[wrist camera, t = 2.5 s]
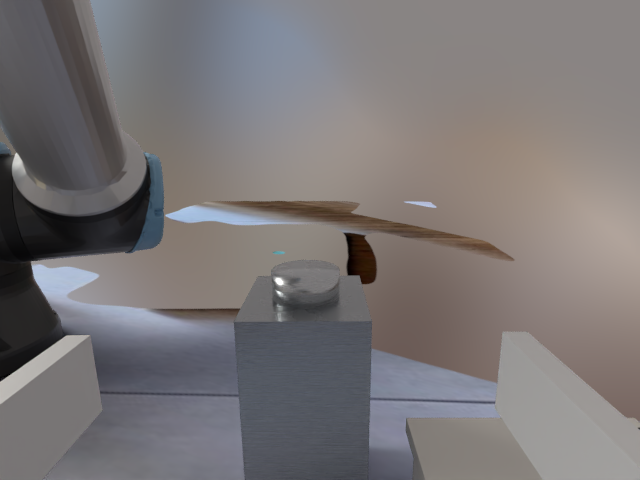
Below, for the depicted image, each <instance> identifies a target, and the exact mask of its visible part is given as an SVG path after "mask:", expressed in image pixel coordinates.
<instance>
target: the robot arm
mask: <svg viewBox="0 0 640 480" xmlns="http://www.w3.org/2000/svg"><path fill="white" fill-rule="evenodd" d="M0 127H1V129H2V130H3V132H4V134H5V135H6V137H7V138H8V140H9V141H10V143H11V144H12V146H13V148H14V149H15V151H16V154H15V155H11V151H10V150H9V149H8V148H7V146H6V144H4V143H2V142H0V377H2V376H5V375H8V374H10V373H12V374H11V375H9V376H8V377H6V378H5V379H4V380H2V381H1V382H0V480H43V479H44V477H45V476H46V475H47V474H48V473H49V472H50V470H51V469H52V468H53V467H54V466H55V465H56V464H57V462H58V461H59V460H60V459H61V458H62V457H63V456H64V454H65V453H66V452H67V451H68V450H69V449H70V447H71V446H72V445H73V444H74V443H75V442H76V441H77V439H78V438H79V437H80V436H81V435H82V434H83V433H84V431H85V430H86V429H87V428H88V427H89V426H90V424H91V423H92V422H93V421H94V420H95V419H96V418H97V416H98V415H99V414H100V413H101V412H102V411H103V408H102V402H101V396H100V390H99V384H98V378H97V372H96V366H95V360H94V354H93V348H92V342H91V336H90V335H67V336H65V337H64V338H63V331H62V326H61V320H60V318H59V316H58V314H57V313H56V312H55V311H54V310H52V308H51V306H50V304H49V303H48V301H47V299H46V297H45V296H44V294H43V292H42V291H41V289H40V288H39V286H38V285H37V283H36V281H35V279H34V275H33V271H32V266H31V261H38V260H44V259H45V260H46V259H56V258H67V257H77V256H88V255H99V254H109V253H120V252H125V253H133V252H135V251H138V250H145V249H151V248H154V247H156V246H157V245H158V244H159V243H160V241H161V239H162V236H163V228H164V213H163V209H164V208H163V206H164V191H163V176H162V167H161V162H160V160H159V158H158V157H157V156H156V155H154V154H148V153H146V152H143V151H142V149H141V147H140V146H139V144H138V143H137V142H136V141H135V140H134V139H133V138H132V137H131V136H130V135H128V134H127V133H126V132H124V131H122V127H121V123H120V119H119V115H118V111H117V107H116V103H115V99H114V95H113V91H112V87H111V83H110V79H109V75H108V71H107V68H106V63H105V59H104V55H103V52H102V47H101V43H100V39H99V35H98V31H97V27H96V24H95V20H94V15H93V11H92V7H91V3H90V0H0ZM13 372H14V373H13ZM495 409H496V411H497V412H498V414H499V415H500V417H501V418H502V420H503V421H504V423H505V424H506V426H507V427H508V429H509V430H510V432H511V433H512V435H513V436H514V438H515V439H516V441H517V442H518V444H519V445H520V446H521V448H522V449H523V451H524V452H525V454H526V455H527V457H528V458H529V460H530V461H531V463H532V464H533V466H534V467H535V469H536V470H537V472H538V473H539V475H540V476H541V478H542V479H543V480H640V428H637V427H636V426H635V425H634V424H633V423H631V422H630V421H629V420H628V419H627V418H626V417H625V416H623V415H622V414H621V413H620V412H619V411H618V410H616V409H615V408H614V407H613V406H612V405H611V404H610V403H608V402H607V401H606V400H605V399H604V398H603V397H602V396H600V395H599V394H598V393H597V392H596V391H595V390H593V389H592V388H591V387H590V386H589V385H588V384H587V383H585V382H584V381H583V380H582V379H581V378H580V377H579V376H577V375H576V374H575V373H574V372H573V371H572V370H570V369H569V368H568V367H567V366H566V365H565V364H564V363H563V362H561V361H560V360H559V359H558V358H557V357H556V356H554V355H553V354H552V353H551V352H550V351H549V350H547V349H546V348H545V347H544V346H543V345H542V344H541V343H540V342H538V341H537V340H536V339H535V338H534V337H533V336H532V335H530V334H529V333H528V332H503V334H502V345H501V353H500V363H499V373H498V382H497V392H496V402H495Z"/></svg>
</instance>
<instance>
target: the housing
mask: <svg viewBox="0 0 640 480" xmlns="http://www.w3.org/2000/svg"><path fill="white" fill-rule="evenodd" d="M339 271H340V270H339V268H338V267H337V266H336V265H334V264H332V263H329V262H324V261H318V260H298V261H291V262H286V263H282V264H279V265H277V266H275V267H274V268H273V269H272V271H271V276H258V277H257V279H256V281H255V283H254V285H253V287H252V288H251V290H250V292H249V294H248V296H247V298H246V300H245V302H244V303H243V305H242V307H241V309H240V311H239V313H238V315H237V317H236V319H235V320H234V331H235V346H236V360H237V374H238V389H239V403H240V417H241V432H242V446H243V460H244V475H245V480H368V456H369V416H370V376H371V337H372V335H371V334H372V320H371V317H370V313H369V309H368V306H367V302H366V299H365V295H364V291H363V287H362V284H361V280H360V277H359V276H340V272H339Z"/></svg>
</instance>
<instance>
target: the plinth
mask: <svg viewBox="0 0 640 480" xmlns="http://www.w3.org/2000/svg"><path fill="white" fill-rule="evenodd" d="M627 419H628V420H629V421H630V422H631V423H633V424H634V425H635V426H636V427H637V428H640V422H638V421H637V420H636V419H635V418H627ZM406 433H407V437H408V440H409V444H410V447H411V451H412V454H413V458H414V461H413V478H412V480H543V479H542V478H541V476H540V475H539V473H538V472H537V470H536V469H535V467H534V466H533V464H532V463H531V461H530V460H529V458H528V457H527V455H526V454H525V452H524V451H523V449H522V448H521V446H520V445H519V444H518V442H517V441H516V439H515V438H514V436H513V435H512V433H511V432H510V430H509V429H508V427H507V426H506V424H505V423H504V421H503V420H502V418H406Z"/></svg>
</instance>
